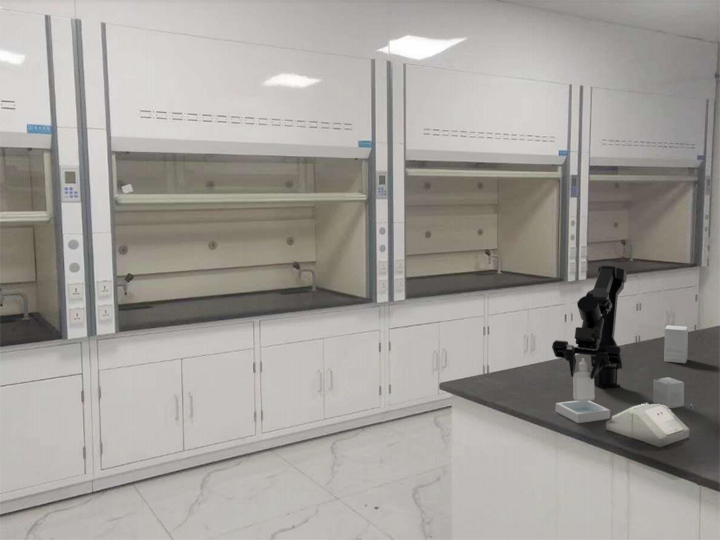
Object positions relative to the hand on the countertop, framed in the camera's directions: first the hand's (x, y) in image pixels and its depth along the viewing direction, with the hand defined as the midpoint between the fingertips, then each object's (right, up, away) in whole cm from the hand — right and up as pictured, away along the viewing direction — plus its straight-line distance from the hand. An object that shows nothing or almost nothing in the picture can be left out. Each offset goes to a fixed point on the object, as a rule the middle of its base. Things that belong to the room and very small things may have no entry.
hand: (581, 377), depth 179 cm
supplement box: (+56, -4, +59) cm, 81 cm away
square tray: (+1, -11, +2) cm, 11 cm away
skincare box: (+29, -10, +10) cm, 32 cm away
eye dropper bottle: (+1, -7, +2) cm, 7 cm away
